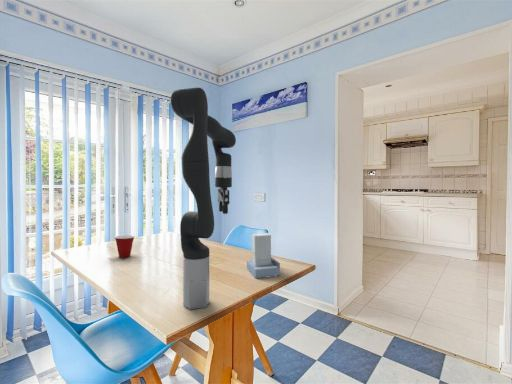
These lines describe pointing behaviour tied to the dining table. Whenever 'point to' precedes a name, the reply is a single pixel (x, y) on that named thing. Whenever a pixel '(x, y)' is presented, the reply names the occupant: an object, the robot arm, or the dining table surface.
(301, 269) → the dining table surface
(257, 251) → the skincare box
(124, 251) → the plastic cup
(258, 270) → the tray
